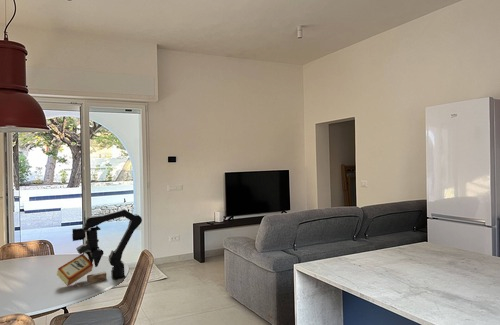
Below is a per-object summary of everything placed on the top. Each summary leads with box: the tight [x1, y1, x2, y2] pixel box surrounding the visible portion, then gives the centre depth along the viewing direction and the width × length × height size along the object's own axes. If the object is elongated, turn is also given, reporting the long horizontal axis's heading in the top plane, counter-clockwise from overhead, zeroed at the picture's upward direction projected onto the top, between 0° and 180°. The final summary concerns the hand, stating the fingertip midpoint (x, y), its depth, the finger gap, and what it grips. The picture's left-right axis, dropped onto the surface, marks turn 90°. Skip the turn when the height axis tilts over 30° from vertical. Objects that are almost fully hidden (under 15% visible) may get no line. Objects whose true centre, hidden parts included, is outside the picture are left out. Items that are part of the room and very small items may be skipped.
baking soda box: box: [56, 253, 94, 287], centre depth 212 cm, size 10×6×16 cm
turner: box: [74, 271, 108, 287], centre depth 213 cm, size 16×6×4 cm, turn 130°
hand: (93, 265), depth 214 cm, fingers open, 9 cm apart
